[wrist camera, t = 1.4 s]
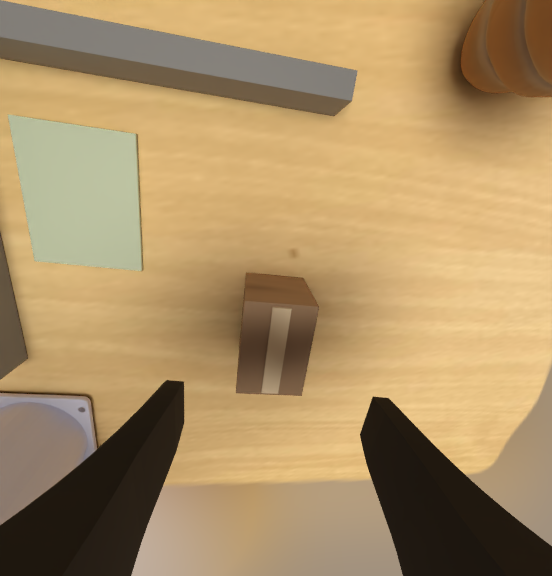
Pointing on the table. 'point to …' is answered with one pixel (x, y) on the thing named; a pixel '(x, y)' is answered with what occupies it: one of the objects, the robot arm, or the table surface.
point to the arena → (121, 133)
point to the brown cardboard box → (275, 335)
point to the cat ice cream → (510, 48)
